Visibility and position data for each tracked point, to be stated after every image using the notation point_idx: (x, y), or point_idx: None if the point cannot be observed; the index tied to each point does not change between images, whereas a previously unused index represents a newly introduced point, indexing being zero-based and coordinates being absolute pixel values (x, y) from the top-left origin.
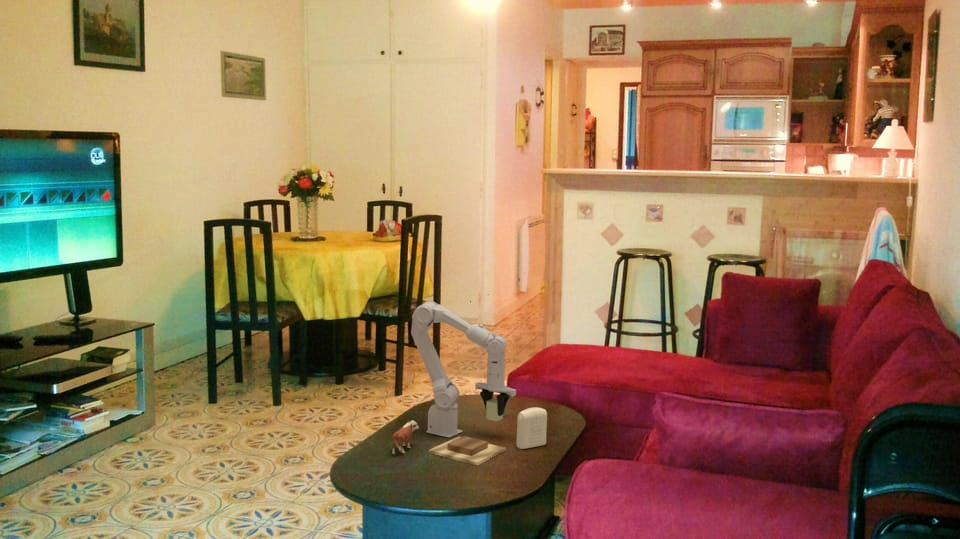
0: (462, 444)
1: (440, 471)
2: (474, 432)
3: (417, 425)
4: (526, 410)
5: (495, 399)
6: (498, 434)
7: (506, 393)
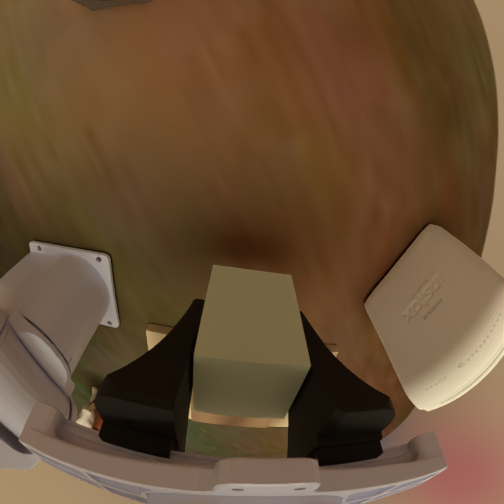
0: (228, 417)
1: (240, 445)
2: (145, 233)
3: (88, 416)
4: (451, 394)
5: (228, 369)
6: (249, 206)
7: (364, 465)
